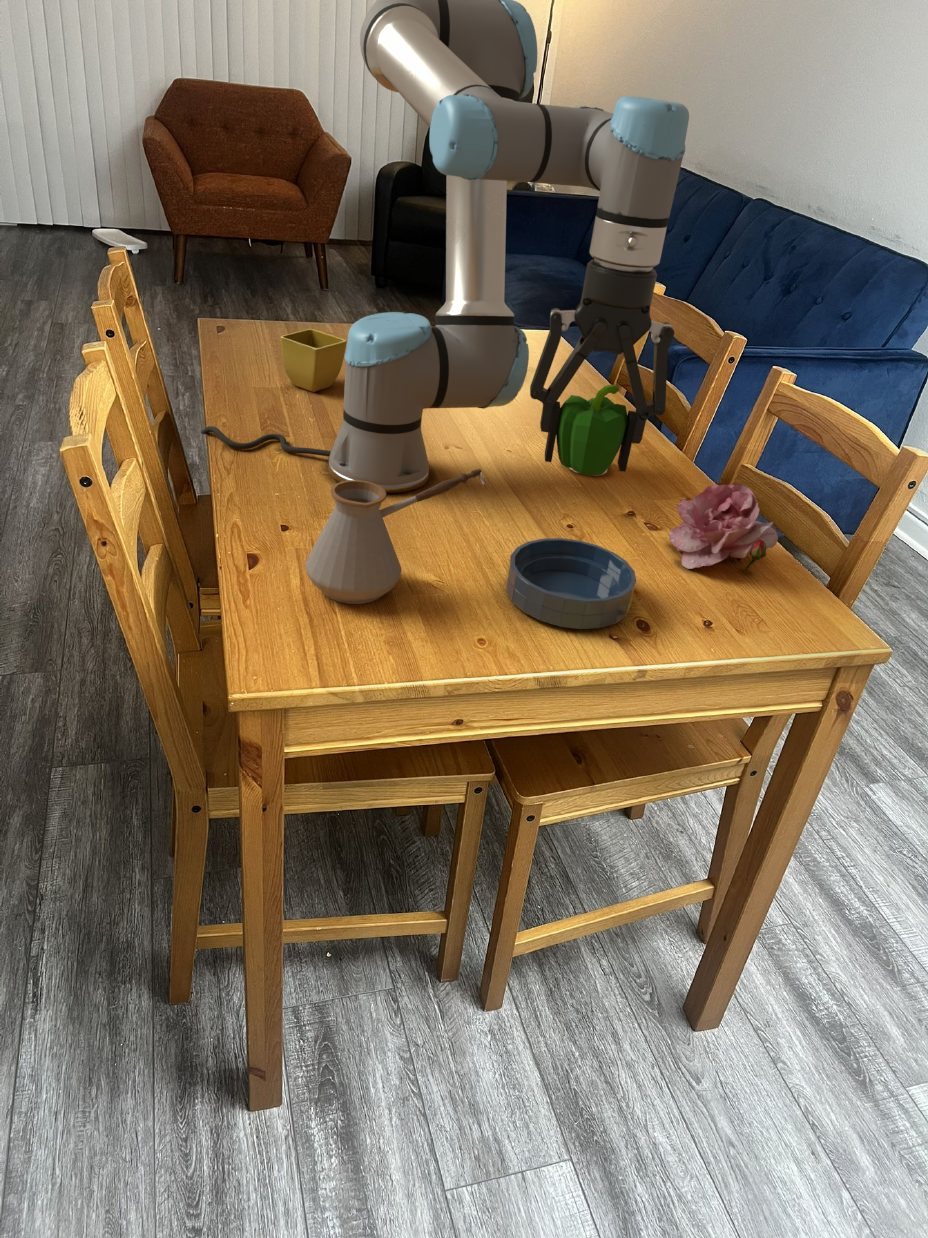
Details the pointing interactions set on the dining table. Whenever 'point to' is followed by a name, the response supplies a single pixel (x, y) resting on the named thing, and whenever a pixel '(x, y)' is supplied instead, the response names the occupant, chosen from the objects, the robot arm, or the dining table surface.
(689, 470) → the dining table surface
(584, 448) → the bell pepper
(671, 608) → the dining table surface
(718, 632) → the dining table surface
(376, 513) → the coffee pot
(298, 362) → the flower pot
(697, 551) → the flower
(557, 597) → the bowl
